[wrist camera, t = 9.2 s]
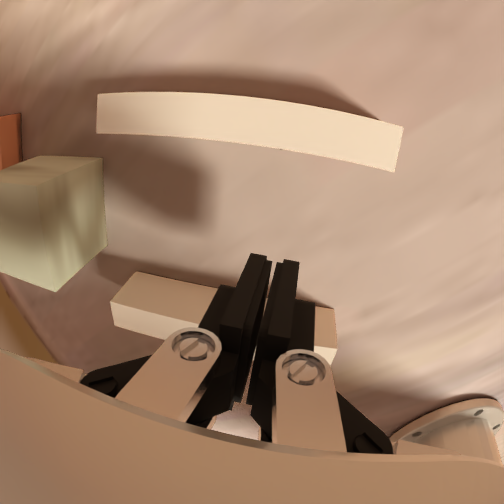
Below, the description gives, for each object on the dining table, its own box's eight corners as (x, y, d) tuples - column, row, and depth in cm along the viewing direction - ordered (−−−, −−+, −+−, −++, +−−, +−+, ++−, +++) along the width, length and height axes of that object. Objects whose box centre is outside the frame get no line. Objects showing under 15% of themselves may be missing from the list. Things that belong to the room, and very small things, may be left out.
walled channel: (326, 331, 17) (327, 371, 14) (138, 294, 18) (114, 325, 15) (382, 121, 11) (403, 127, 9) (134, 92, 12) (97, 93, 10)
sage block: (108, 244, 16) (55, 292, 12) (48, 231, 17) (-5, 269, 12) (103, 157, 14) (36, 185, 10) (39, 155, 15) (-24, 180, 10)
